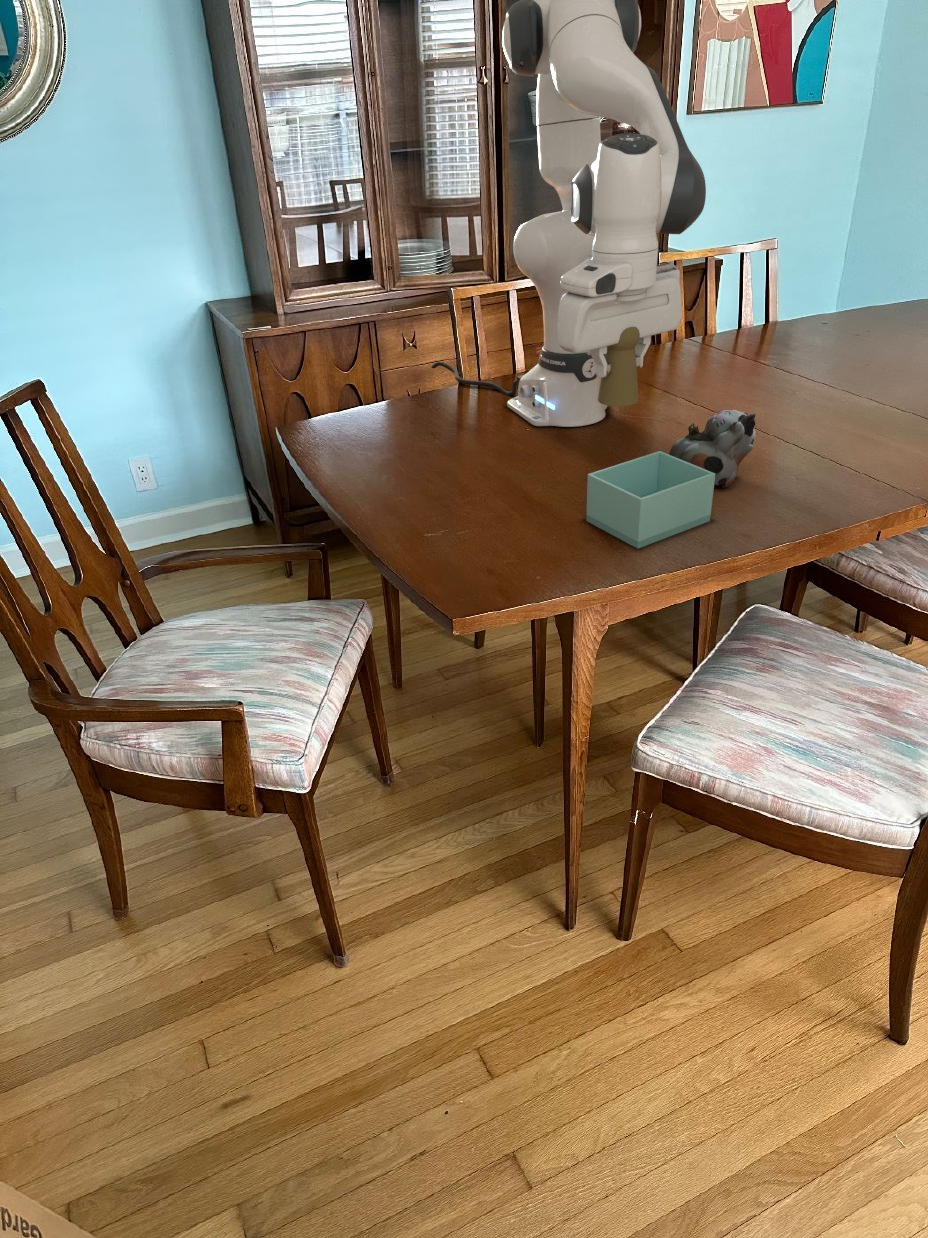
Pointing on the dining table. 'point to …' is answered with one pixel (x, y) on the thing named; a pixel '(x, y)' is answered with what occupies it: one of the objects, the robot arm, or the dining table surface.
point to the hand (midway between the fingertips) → (619, 371)
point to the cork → (621, 371)
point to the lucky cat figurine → (718, 444)
